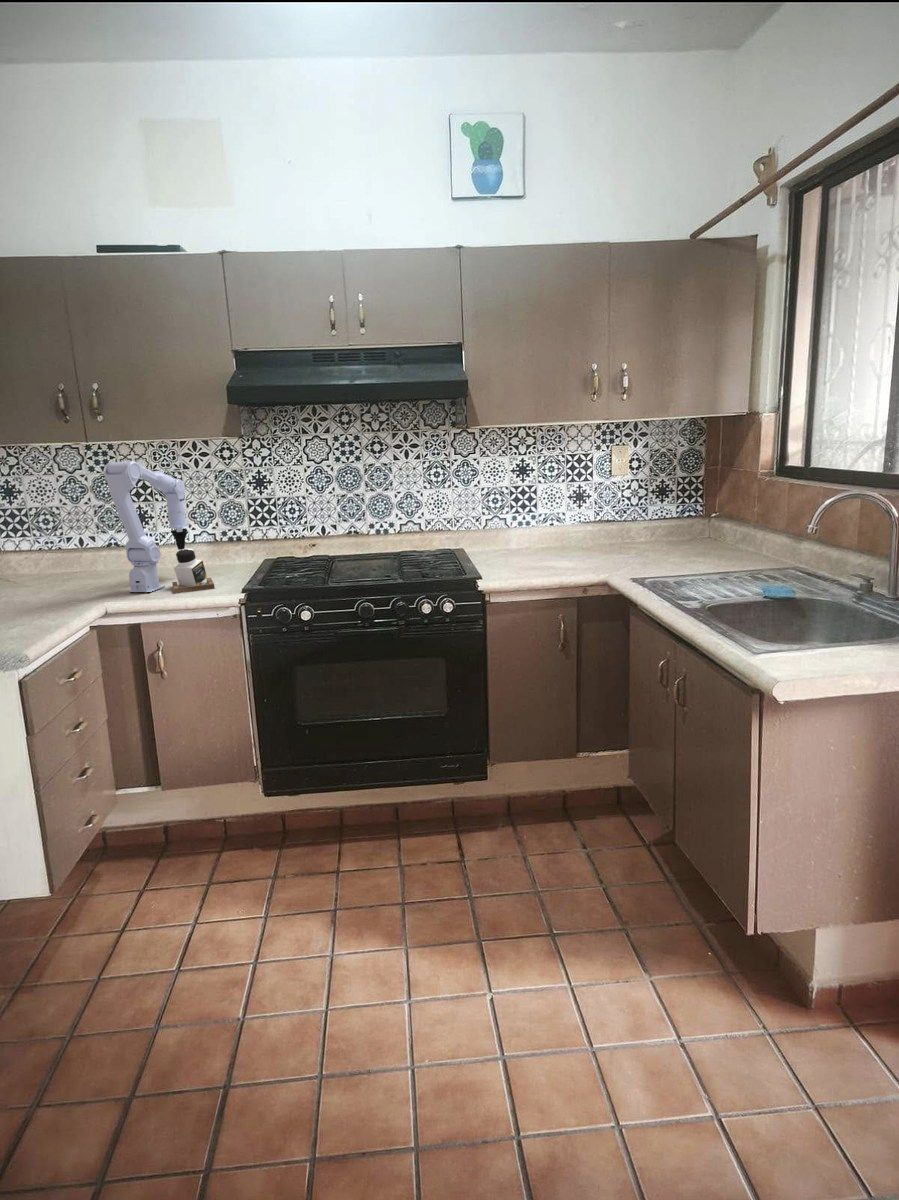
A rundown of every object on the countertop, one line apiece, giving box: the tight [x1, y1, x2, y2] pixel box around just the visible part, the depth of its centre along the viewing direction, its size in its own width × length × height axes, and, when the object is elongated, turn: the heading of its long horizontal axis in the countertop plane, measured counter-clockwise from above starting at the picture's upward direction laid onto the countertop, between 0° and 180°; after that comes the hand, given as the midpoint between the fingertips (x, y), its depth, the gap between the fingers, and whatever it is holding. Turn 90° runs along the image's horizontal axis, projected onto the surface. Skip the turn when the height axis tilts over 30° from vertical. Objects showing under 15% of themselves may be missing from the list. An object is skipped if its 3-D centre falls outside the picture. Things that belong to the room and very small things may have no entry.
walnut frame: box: [171, 577, 215, 594], centre depth 265 cm, size 12×13×2 cm
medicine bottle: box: [174, 547, 208, 587], centre depth 267 cm, size 7×7×12 cm
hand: (181, 549), depth 281 cm, fingers closed
